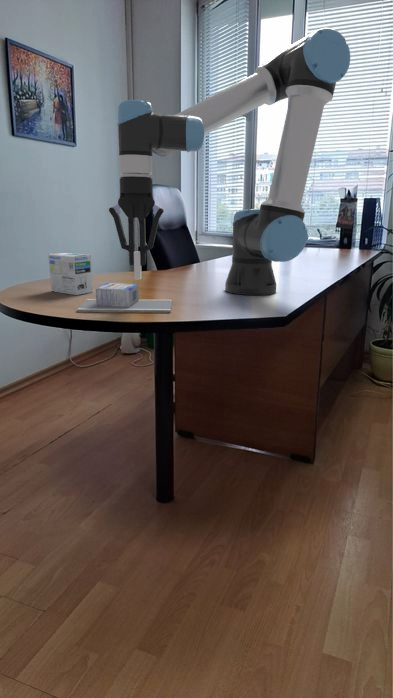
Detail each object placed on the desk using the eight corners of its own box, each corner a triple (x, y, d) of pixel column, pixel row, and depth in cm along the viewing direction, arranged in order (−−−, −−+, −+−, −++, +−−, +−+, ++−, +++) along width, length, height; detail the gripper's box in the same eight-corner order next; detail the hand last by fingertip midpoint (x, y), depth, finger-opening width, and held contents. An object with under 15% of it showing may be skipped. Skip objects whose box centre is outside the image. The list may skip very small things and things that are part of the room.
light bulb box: (94, 292, 137) (92, 254, 134) (76, 295, 132) (74, 256, 128) (67, 288, 142) (65, 251, 139) (50, 291, 137) (47, 253, 134)
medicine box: (129, 289, 114) (95, 287, 115) (129, 308, 115) (95, 305, 116) (138, 284, 121) (106, 282, 122) (139, 301, 122) (106, 299, 124)
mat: (171, 302, 124) (171, 299, 124) (170, 312, 113) (170, 309, 113) (87, 301, 124) (87, 299, 124) (77, 312, 112) (77, 309, 112)
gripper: (165, 177, 113) (165, 277, 120) (109, 176, 113) (113, 276, 120) (163, 176, 106) (164, 281, 113) (104, 174, 106) (108, 281, 112)
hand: (137, 278), depth 116 cm, fingers closed
